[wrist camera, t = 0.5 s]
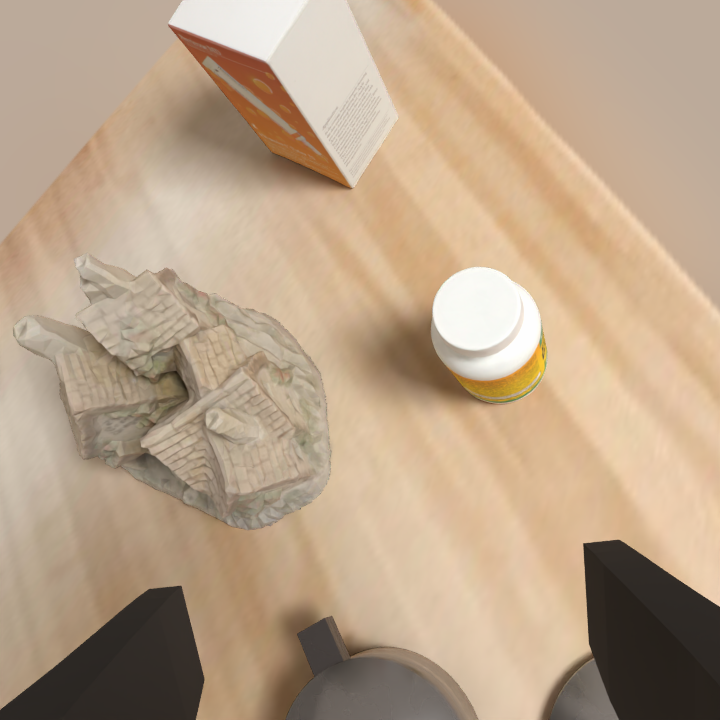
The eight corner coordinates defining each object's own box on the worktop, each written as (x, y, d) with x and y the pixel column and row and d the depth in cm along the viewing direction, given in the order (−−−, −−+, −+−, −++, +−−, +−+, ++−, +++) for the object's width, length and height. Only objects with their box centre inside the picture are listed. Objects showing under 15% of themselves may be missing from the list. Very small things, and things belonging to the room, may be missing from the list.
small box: (271, 154, 46) (162, 23, 34) (316, 84, 47) (224, -69, 35) (354, 192, 43) (265, 61, 31) (402, 117, 43) (333, -41, 31)
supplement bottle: (440, 346, 38) (397, 290, 29) (518, 302, 37) (498, 229, 28) (483, 423, 36) (449, 386, 27) (567, 377, 35) (560, 324, 26)
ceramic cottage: (101, 362, 46) (-91, 302, 32) (297, 280, 43) (178, 173, 29) (139, 572, 42) (-67, 608, 28) (361, 497, 39) (256, 494, 24)
